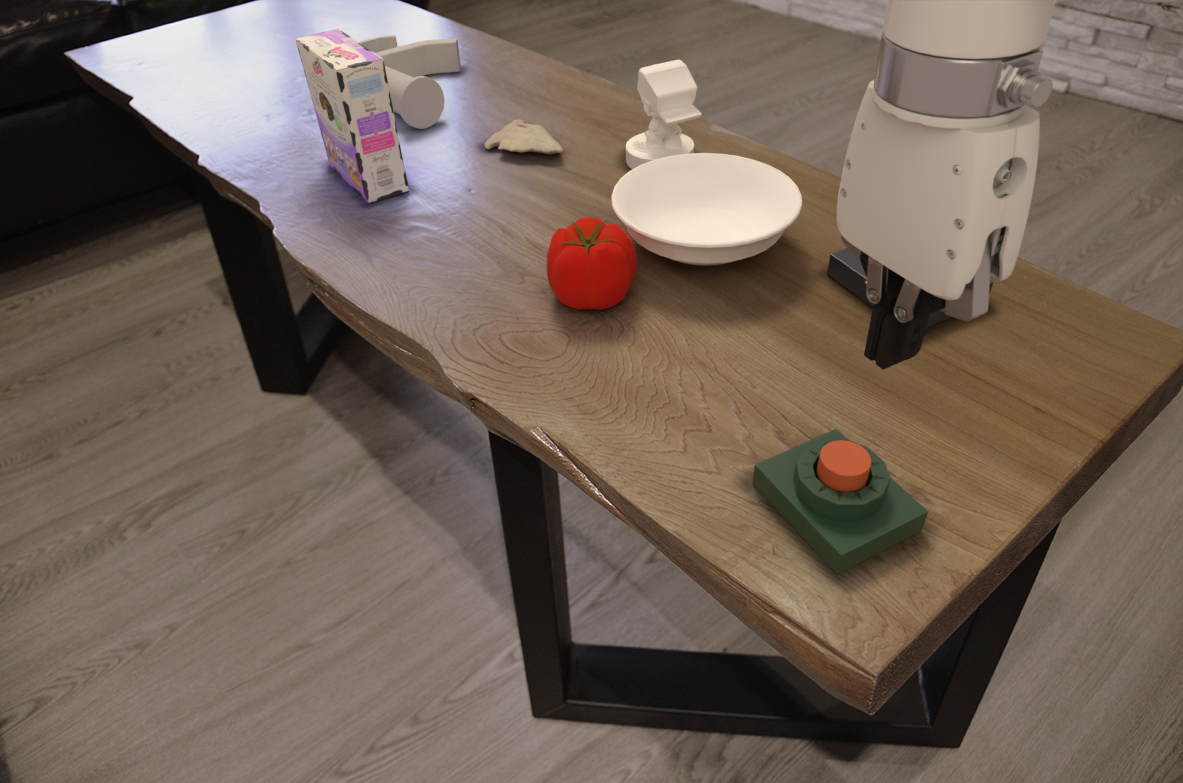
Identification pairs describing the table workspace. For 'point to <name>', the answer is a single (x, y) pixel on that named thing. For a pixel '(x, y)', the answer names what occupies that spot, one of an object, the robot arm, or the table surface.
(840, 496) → the green button base
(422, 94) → the faucet
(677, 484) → the table surface
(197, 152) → the table surface
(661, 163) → the bowl
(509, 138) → the decorative stone
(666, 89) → the character figurine
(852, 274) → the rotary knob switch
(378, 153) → the candy box
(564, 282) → the tomato
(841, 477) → the button
